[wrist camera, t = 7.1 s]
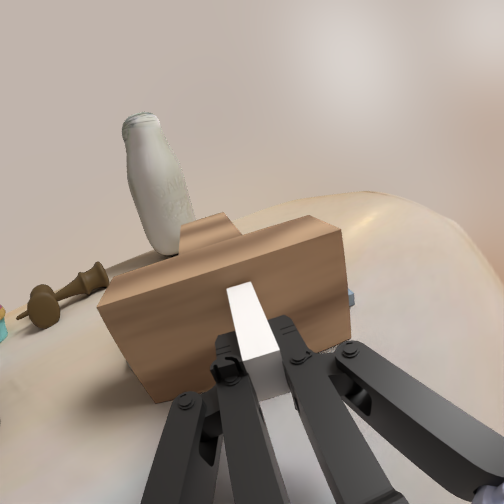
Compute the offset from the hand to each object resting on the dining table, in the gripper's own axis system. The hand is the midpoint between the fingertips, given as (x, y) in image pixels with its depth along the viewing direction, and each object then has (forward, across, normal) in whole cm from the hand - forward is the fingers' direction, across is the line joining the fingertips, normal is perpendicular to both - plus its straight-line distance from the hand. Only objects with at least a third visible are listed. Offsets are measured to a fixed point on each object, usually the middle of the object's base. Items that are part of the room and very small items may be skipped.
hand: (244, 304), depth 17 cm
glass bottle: (+38, -9, -7) cm, 39 cm away
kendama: (+25, -31, -7) cm, 40 cm away
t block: (+8, -1, -6) cm, 10 cm away
